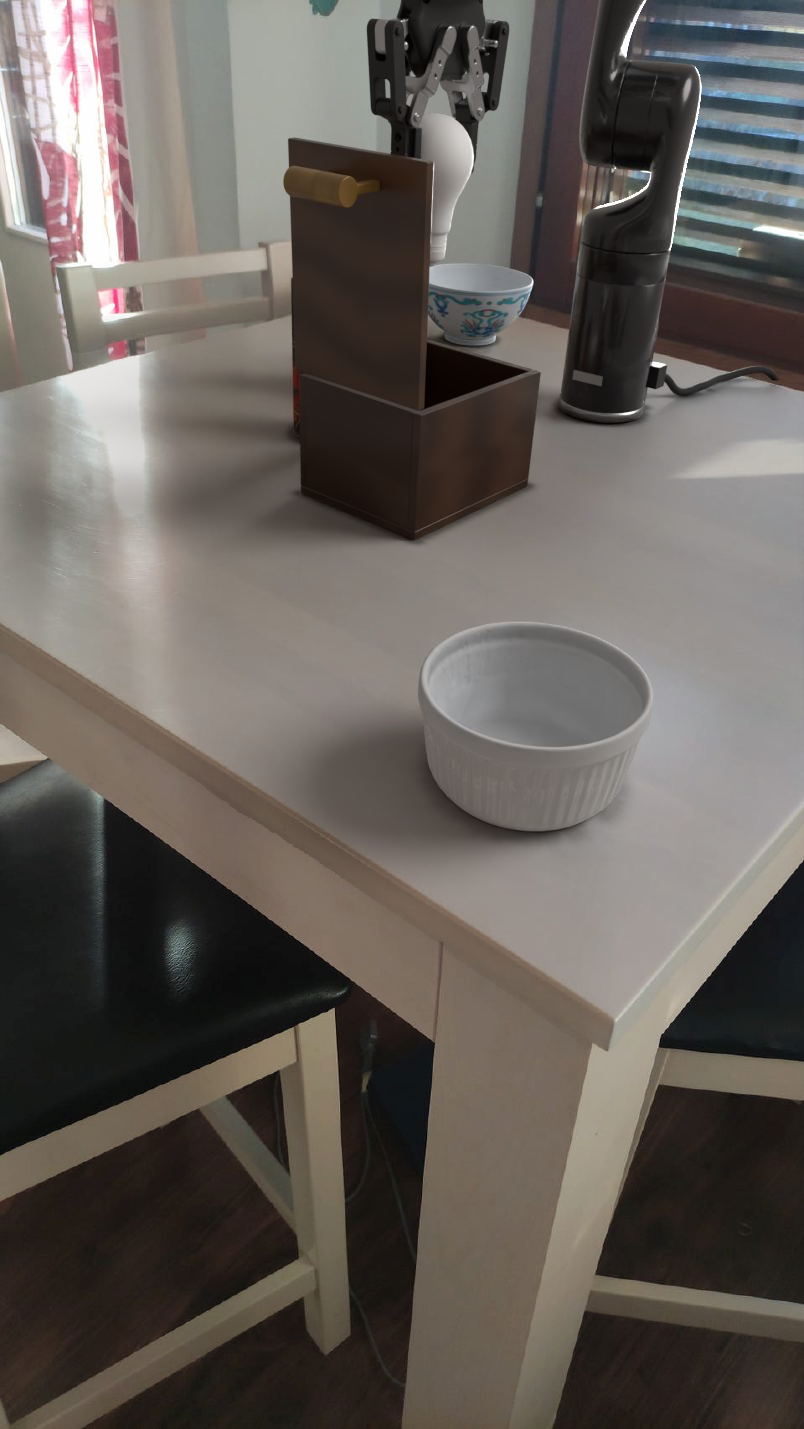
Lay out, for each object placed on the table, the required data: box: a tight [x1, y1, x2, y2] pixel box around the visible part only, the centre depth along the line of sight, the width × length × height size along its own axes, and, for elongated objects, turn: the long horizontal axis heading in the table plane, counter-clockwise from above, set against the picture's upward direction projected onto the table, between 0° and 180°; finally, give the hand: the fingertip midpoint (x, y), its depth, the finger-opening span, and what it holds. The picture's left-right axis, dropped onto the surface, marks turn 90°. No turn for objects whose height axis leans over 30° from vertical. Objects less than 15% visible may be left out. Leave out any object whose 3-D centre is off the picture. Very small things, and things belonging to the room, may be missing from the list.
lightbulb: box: [417, 112, 474, 267], centre depth 83 cm, size 6×6×11 cm
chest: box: [299, 338, 542, 541], centre depth 95 cm, size 17×14×11 cm
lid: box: [282, 137, 434, 411], centre depth 79 cm, size 17×14×5 cm
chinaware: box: [428, 262, 534, 347], centre depth 137 cm, size 15×15×8 cm
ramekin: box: [417, 620, 654, 832], centre depth 61 cm, size 13×13×7 cm
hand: (433, 177), depth 83 cm, fingers closed on lightbulb, 6 cm apart
